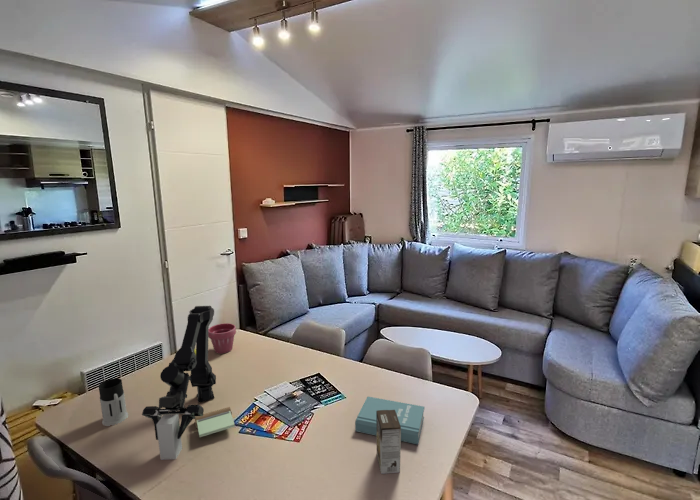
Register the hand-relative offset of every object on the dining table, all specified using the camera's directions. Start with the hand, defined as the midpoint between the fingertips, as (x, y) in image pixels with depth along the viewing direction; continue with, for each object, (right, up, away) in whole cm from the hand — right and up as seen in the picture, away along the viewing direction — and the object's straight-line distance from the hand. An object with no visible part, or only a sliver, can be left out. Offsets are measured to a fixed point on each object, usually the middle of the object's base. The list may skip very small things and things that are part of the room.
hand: (167, 439), depth 121 cm
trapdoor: (+11, -1, +13) cm, 17 cm away
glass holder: (-29, -4, +20) cm, 36 cm away
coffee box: (+73, -6, -3) cm, 73 cm away
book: (+76, -3, +16) cm, 77 cm away
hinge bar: (+8, -3, +20) cm, 21 cm away
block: (0, -6, +3) cm, 7 cm away
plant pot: (-9, +8, +79) cm, 80 cm away
